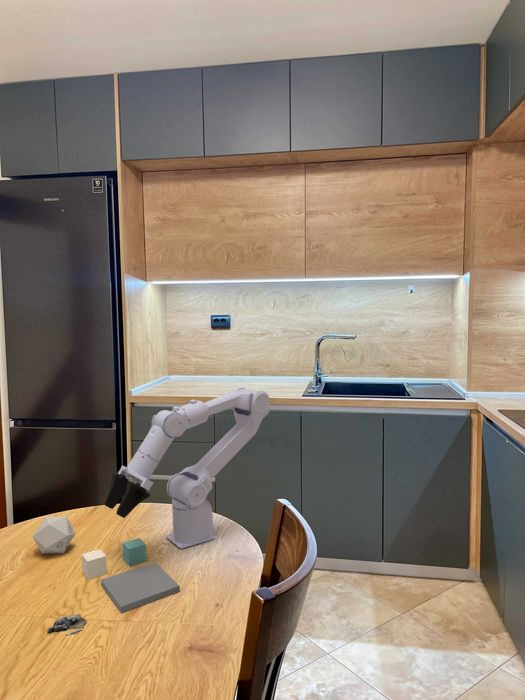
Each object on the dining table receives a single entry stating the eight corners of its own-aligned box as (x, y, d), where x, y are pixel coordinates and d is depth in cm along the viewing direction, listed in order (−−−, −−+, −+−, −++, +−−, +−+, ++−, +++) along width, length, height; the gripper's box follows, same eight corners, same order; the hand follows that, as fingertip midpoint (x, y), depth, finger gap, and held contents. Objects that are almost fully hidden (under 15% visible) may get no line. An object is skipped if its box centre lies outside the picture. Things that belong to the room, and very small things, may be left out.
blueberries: (92, 629, 88) (91, 619, 88) (45, 650, 83) (44, 639, 83) (77, 613, 93) (77, 603, 93) (32, 631, 88) (32, 621, 88)
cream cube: (101, 566, 110) (100, 549, 110) (106, 573, 107) (106, 555, 106) (82, 572, 107) (81, 554, 107) (88, 579, 104) (87, 561, 104)
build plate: (155, 567, 109) (155, 562, 109) (179, 591, 99) (179, 585, 99) (101, 585, 102) (100, 579, 102) (121, 612, 92) (120, 606, 92)
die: (49, 566, 111) (75, 527, 114) (19, 545, 113) (45, 507, 115) (63, 561, 119) (87, 525, 122) (34, 542, 120) (59, 506, 123)
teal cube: (139, 554, 115) (139, 538, 115) (146, 561, 112) (145, 544, 111) (122, 559, 113) (122, 542, 112) (129, 566, 109) (128, 549, 109)
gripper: (122, 444, 118) (89, 495, 113) (147, 453, 106) (110, 512, 102) (145, 458, 121) (113, 509, 117) (171, 469, 110) (137, 526, 105)
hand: (113, 511), depth 109 cm, fingers open, 7 cm apart
